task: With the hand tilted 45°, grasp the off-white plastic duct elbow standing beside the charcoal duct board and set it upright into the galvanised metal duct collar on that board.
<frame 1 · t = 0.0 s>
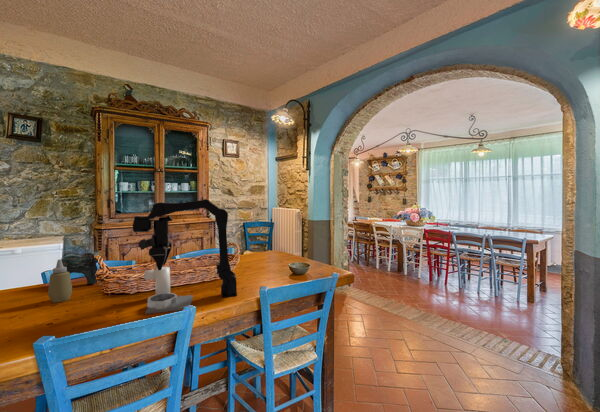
hand: (161, 267, 121), 15 cm above the table, fingers open, 9 cm apart
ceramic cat: (78, 285, 144), on the table
squeeze bottle: (60, 301, 122), on the table
duct elbow: (163, 296, 127), on the table
duct board: (171, 304, 117), on the table
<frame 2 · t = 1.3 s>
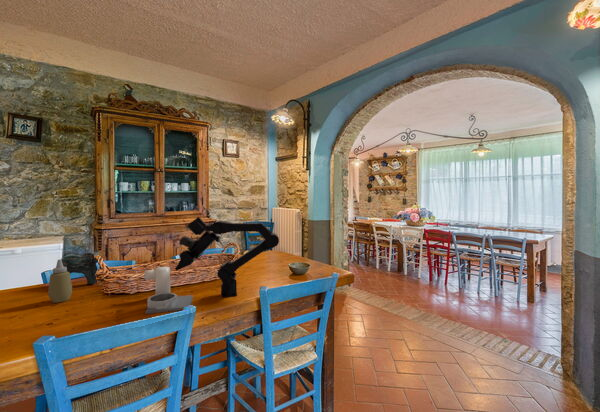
hand: (179, 267, 127), 13 cm above the table, fingers open, 9 cm apart
nothing on the table moved.
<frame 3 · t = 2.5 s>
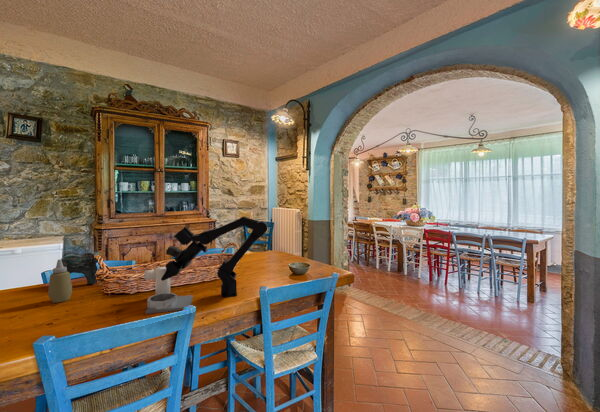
hand: (165, 276, 127), 9 cm above the table, fingers open, 9 cm apart
nothing on the table moved.
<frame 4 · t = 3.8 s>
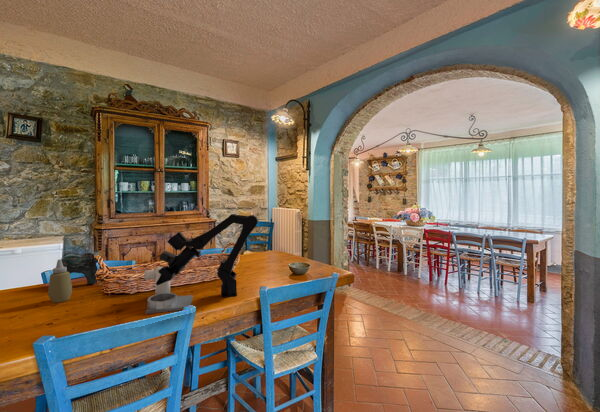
hand: (159, 282, 127), 7 cm above the table, fingers closed on duct elbow, 6 cm apart
duct elbow: (163, 296, 127), on the table, touching gripper
everything else where it was.
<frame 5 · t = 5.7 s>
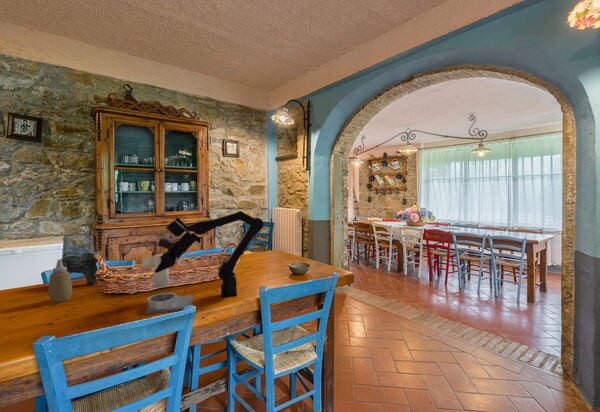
hand: (157, 270, 121), 13 cm above the table, fingers closed on duct elbow, 6 cm apart
duct elbow: (161, 285, 122), point 7 cm above the table, touching gripper
everything else where it was.
when the fingers open (9 cm above the table, at t = 7.8 s): duct elbow drops 1 cm, resting on duct board.
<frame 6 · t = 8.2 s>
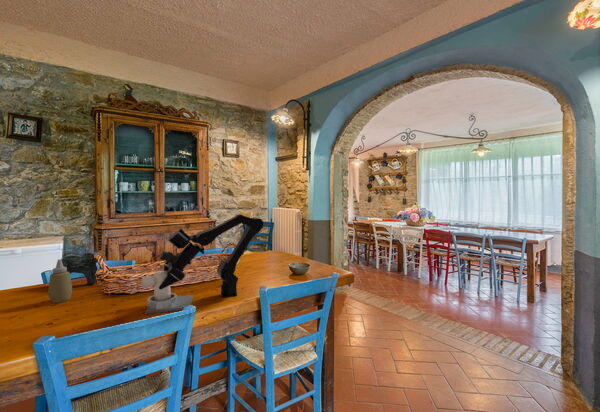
hand: (158, 285, 114), 9 cm above the table, fingers open, 9 cm apart
duct elbow: (162, 304, 115), point 1 cm above the table, touching duct board
everything else where it was.
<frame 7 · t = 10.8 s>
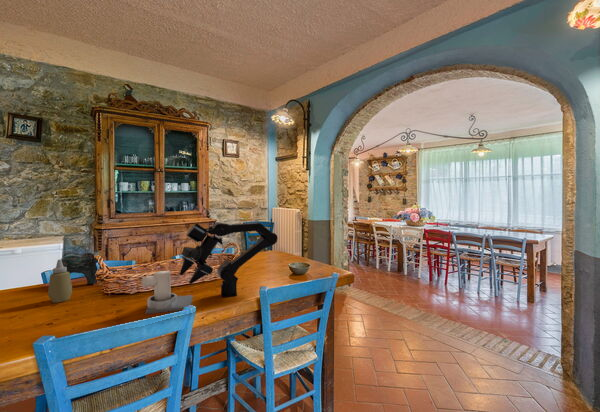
hand: (185, 279, 121), 10 cm above the table, fingers open, 9 cm apart
nothing on the table moved.
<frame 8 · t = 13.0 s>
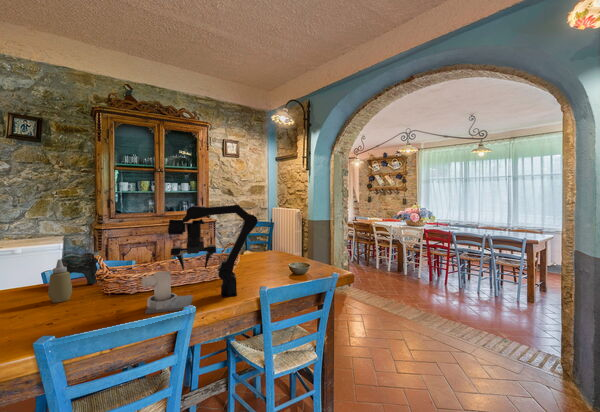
hand: (194, 269, 125), 13 cm above the table, fingers open, 9 cm apart
nothing on the table moved.
at the end: duct elbow 0.1 cm from the target spot on the duct board, point 1.1 cm above the duct board's base; duct elbow tilted 0°; the gripper is holding nothing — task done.
